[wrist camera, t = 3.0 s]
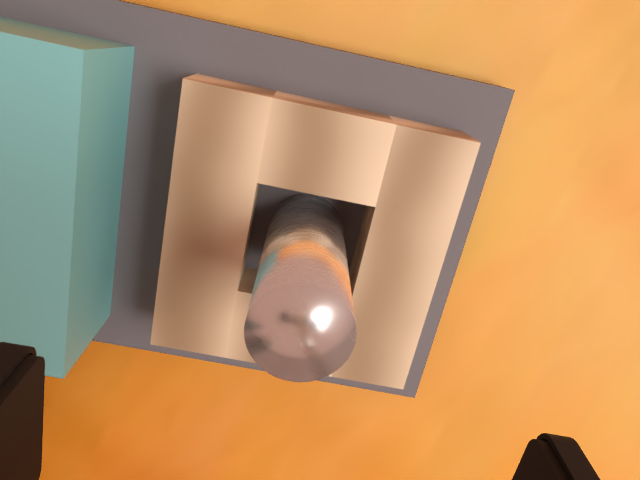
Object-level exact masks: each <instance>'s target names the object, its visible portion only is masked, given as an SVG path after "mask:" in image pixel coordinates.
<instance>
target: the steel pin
mask: <svg viewBox="0 0 640 480" xmlns="http://www.w3.org/2000/svg"><path fill="white" fill-rule="evenodd" d="M356 334H357V331H356V322H355V315H354V307H353V300H352V293H351V286H350V278H349V271H348V264H347V256H346V249H345V242H344V234H343V227H342V221H341V218H340V215H339V213H338V211H337V210H336V209H335V207H334V206H333V205H332V204H331V203H330V202H328V201H327V200H325V199H324V198H322V197H319V196H316V195H312V194H299V195H294V196H292V197H289V198H287V199H286V200H284V201H283V202H281V203H280V204H279V205H278V206H277V208H276V209H275V210H274V212H273V214H272V216H271V219H270V223H269V227H268V231H267V235H266V239H265V243H264V247H263V251H262V255H261V259H260V263H259V268H258V272H257V276H256V280H255V284H254V288H253V292H252V296H251V300H250V304H249V308H248V312H247V317H246V321H245V325H244V339H245V344H246V347H247V350H248V352H249V354H250V355H251V357H252V358H253V360H254V361H255V362H256V363H257V364H258V365H259V366H260V367H261V368H262V369H263V370H264V371H266V372H268V373H269V374H271V375H273V376H275V377H277V378H280V379H283V380H287V381H293V382H308V381H314V380H318V379H321V378H324V377H326V376H329V375H331V374H332V373H334V372H335V371H337V370H338V369H339V368H340V367H342V366H343V364H344V363H345V362H346V361H347V360H348V358H349V357H350V355H351V353H352V351H353V349H354V346H355V342H356Z"/></svg>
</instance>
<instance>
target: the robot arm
mask: <svg viewBox="0 0 640 480" xmlns="http://www.w3.org/2000/svg"><path fill="white" fill-rule="evenodd" d="M44 379H45V360H44V358H43V357H41V356H37V355H36V350H35V348H34V347H31V346H25V345H19V344H13V343H7V342H0V480H39V477H40V473H41V462H42V434H43V407H44ZM512 480H600V479H599V477H598V475H597V474H596V472H595V471H594V469H593V467H592V466H591V464H590V463H589V461H588V459H587V458H586V456H585V455H584V453H583V451H582V450H581V448H580V447H579V445H578V443H577V442H576V441H575V440H574V439H572V438H570V437H565V436H559V435H553V434H547V433H543V434H540V435H539V436H538V437H537V439H532V440H531V441H529V443H528V445H527V447H526V449H525V452H524V454H523V456H522V458H521V461H520V463H519V465H518V467H517V470H516V472H515V474H514V476H513V479H512Z"/></svg>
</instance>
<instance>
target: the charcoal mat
mask: <svg viewBox="0 0 640 480" xmlns="http://www.w3.org/2000/svg"><path fill="white" fill-rule="evenodd" d="M0 17H4V18H8V19H13V20H17V21H22V22H27V23H31V24H36V25H40V26H45V27H49V28H54V29H58V30H63V31H67V32H72V33H77V34H81V35H86V36H90V37H95V38H99V39H104V40H108V41H113V42H117V43H122V44H126V45H131V46H135V48H134V59H133V70H132V81H131V92H130V103H129V114H128V125H127V136H126V146H125V157H124V168H123V179H122V190H121V201H120V212H119V223H118V234H117V245H116V256H115V267H114V278H113V288H112V299H111V310H110V316H109V318H108V319H107V320H106V322H105V323H104V324H103V326H102V327H101V328H100V330H99V331H98V333H97V334H96V335H95V337H94V338H93V339H92V340H93V341H98V342H104V343H110V344H115V345H121V346H126V347H132V348H138V349H143V350H149V351H155V352H160V353H166V354H172V355H177V356H183V357H188V358H194V359H200V360H205V361H211V362H217V363H222V364H228V365H233V366H239V367H245V368H250V369H256V370H262V371H264V370H263V369H262V368H261V367H260V366H259V365H258V364H257V363H252V362H246V361H241V360H235V359H229V358H224V357H218V356H213V355H207V354H201V353H196V352H190V351H185V350H179V349H173V348H168V347H162V346H157V345H151V344H150V342H151V333H152V325H153V317H154V309H155V301H156V293H157V284H158V276H159V268H160V260H161V252H162V244H163V235H164V227H165V219H166V211H167V203H168V195H169V186H170V178H171V170H172V162H173V154H174V146H175V137H176V129H177V121H178V113H179V105H180V97H181V88H182V80H183V78H185V77H188V76H191V75H194V74H202V75H207V76H211V77H216V78H220V79H225V80H229V81H234V82H239V83H243V84H248V85H252V86H257V87H262V88H266V89H271V90H275V91H280V92H284V93H289V94H294V95H298V96H303V97H307V98H312V99H317V100H321V101H326V102H330V103H335V104H339V105H344V106H349V107H353V108H358V109H362V110H367V111H372V112H376V113H381V114H385V115H390V116H394V117H399V118H404V119H408V120H413V121H417V122H422V123H427V124H431V125H436V126H440V127H445V128H449V129H454V130H459V131H463V132H465V133H467V134H468V135H470V136H471V137H473V138H474V139H476V140H477V141H479V142H480V143H481V144H480V148H479V151H478V154H477V157H476V160H475V163H474V167H473V170H472V173H471V176H470V179H469V182H468V186H467V189H466V192H465V195H464V198H463V201H462V205H461V208H460V211H459V214H458V217H457V220H456V224H455V227H454V230H453V233H452V236H451V239H450V243H449V246H448V249H447V252H446V255H445V259H444V262H443V265H442V268H441V271H440V274H439V278H438V281H437V284H436V287H435V290H434V293H433V297H432V300H431V303H430V306H429V309H428V312H427V316H426V319H425V322H424V325H423V328H422V331H421V335H420V338H419V341H418V344H417V347H416V350H415V354H414V357H413V360H412V363H411V366H410V369H409V373H408V376H407V379H406V382H405V385H404V389H397V388H392V387H386V386H381V385H375V384H369V383H364V382H358V381H353V380H347V379H341V378H336V377H330V376H326V377H324V378H321V379H318V381H323V382H329V383H335V384H340V385H346V386H352V387H357V388H363V389H369V390H374V391H380V392H385V393H391V394H397V395H402V396H408V397H414V398H415V395H416V392H417V389H418V386H419V383H420V380H421V377H422V374H423V370H424V367H425V364H426V361H427V358H428V355H429V352H430V349H431V346H432V343H433V340H434V337H435V334H436V331H437V327H438V324H439V321H440V318H441V315H442V312H443V309H444V306H445V303H446V300H447V297H448V294H449V291H450V288H451V285H452V281H453V278H454V275H455V272H456V269H457V266H458V263H459V260H460V257H461V254H462V251H463V248H464V245H465V242H466V238H467V235H468V232H469V229H470V226H471V223H472V220H473V217H474V214H475V211H476V208H477V205H478V202H479V199H480V196H481V192H482V189H483V186H484V183H485V180H486V177H487V174H488V171H489V168H490V165H491V162H492V159H493V156H494V153H495V149H496V146H497V143H498V140H499V137H500V134H501V131H502V128H503V125H504V122H505V119H506V116H507V113H508V110H509V107H510V103H511V100H512V97H513V94H514V91H515V90H512V89H508V88H505V87H501V86H497V85H492V84H488V83H483V82H479V81H474V80H470V79H466V78H461V77H457V76H452V75H448V74H443V73H439V72H435V71H430V70H426V69H421V68H417V67H413V66H408V65H404V64H399V63H395V62H390V61H386V60H382V59H377V58H373V57H368V56H364V55H359V54H355V53H351V52H346V51H342V50H337V49H333V48H329V47H324V46H320V45H315V44H311V43H306V42H302V41H298V40H293V39H289V38H284V37H280V36H275V35H271V34H267V33H262V32H258V31H253V30H249V29H245V28H240V27H236V26H231V25H227V24H222V23H218V22H214V21H209V20H205V19H200V18H196V17H191V16H187V15H183V14H178V13H174V12H169V11H165V10H161V9H156V8H152V7H147V6H143V5H138V4H134V3H130V2H125V1H121V0H0ZM299 194H308V193H303V192H298V191H294V190H289V189H284V188H279V187H274V186H269V185H264V184H260V187H259V192H258V198H257V204H256V209H255V215H254V220H253V226H252V231H251V237H250V242H249V248H248V253H247V259H246V264H245V267H249V268H254V269H258V268H259V263H260V259H261V255H262V251H263V247H264V243H265V239H266V235H267V231H268V227H269V223H270V219H271V216H272V214H273V212H274V210H275V209H276V208H277V206H278V205H279V204H280V203H281V202H283V201H284V200H286V199H287V198H289V197H292V196H294V195H299ZM312 195H313V194H312ZM316 196H318V195H316ZM319 197H322V198H324V199H325V200H327V201H328V202H330V203H331V204H332V205H333V206H334V207H335V209H336V210H337V211H338V213H339V215H340V218H341V221H342V227H343V234H344V242H345V249H346V256H347V264H348V271H349V269H350V265H351V261H352V258H353V254H354V250H355V246H356V242H357V238H358V234H359V230H360V226H361V222H362V218H363V214H364V210H365V206H366V205H362V204H357V203H352V202H347V201H343V200H338V199H333V198H328V197H323V196H319Z"/></svg>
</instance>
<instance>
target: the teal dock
mask: <svg viewBox="0 0 640 480" xmlns="http://www.w3.org/2000/svg"><path fill="white" fill-rule="evenodd" d="M134 48H135V46H131V45H126V44H122V43H117V42H113V41H108V40H104V39H99V38H95V37H90V36H86V35H81V34H77V33H72V32H67V31H63V30H58V29H54V28H49V27H45V26H40V25H36V24H31V23H27V22H22V21H17V20H13V19H8V18H4V17H0V342H7V343H13V344H19V345H25V346H31V347H34V348H35V350H36V355H37V356H41V357H43V358H44V360H45V376H51V377H57V378H63V379H64V378H65V376H66V375H67V374H68V372H69V371H70V369H71V368H72V367H73V365H74V364H75V363H76V361H77V360H78V359H79V357H80V356H81V354H82V353H83V352H84V350H85V349H86V348H87V346H88V345H89V343H90V342H91V341H92V339H93V338H94V337H95V335H96V334H97V333H98V331H99V330H100V328H101V327H102V326H103V324H104V323H105V322H106V320H107V319H108V318H109V316H110V310H111V299H112V288H113V278H114V267H115V256H116V245H117V234H118V223H119V212H120V201H121V190H122V179H123V168H124V157H125V146H126V136H127V125H128V114H129V103H130V92H131V81H132V70H133V59H134Z"/></svg>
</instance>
